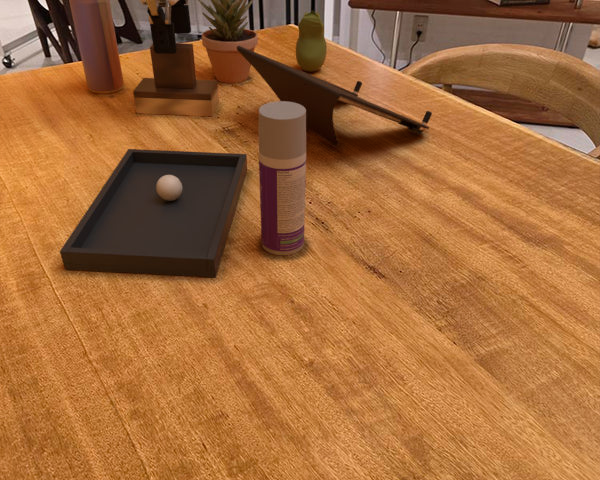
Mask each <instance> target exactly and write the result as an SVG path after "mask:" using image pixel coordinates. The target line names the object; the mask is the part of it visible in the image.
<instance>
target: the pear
mask: <svg viewBox="0 0 600 480" xmlns="http://www.w3.org/2000/svg"><path fill="white" fill-rule="evenodd" d="M297 26H298V27H297V29H298V37H297V40H296V43H295V44H296V45H295V59H296V63H297V65H298V66H299V68H300V69H301V70H302V71H304V72H308V73H309V72H310V73H311V72H316V71H318V70H320V69H321V68H322V67H323V66H324V65H325V62H326V58H327V49H328V47H327V41H326V38H325V24H324V22H323V20H322V19H321V13H320V12H318V11H314V10H311V11H310V12H305V11H304V14H303V16H302V18H301V19H300V21H299V22H298V24H297Z"/></svg>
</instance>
